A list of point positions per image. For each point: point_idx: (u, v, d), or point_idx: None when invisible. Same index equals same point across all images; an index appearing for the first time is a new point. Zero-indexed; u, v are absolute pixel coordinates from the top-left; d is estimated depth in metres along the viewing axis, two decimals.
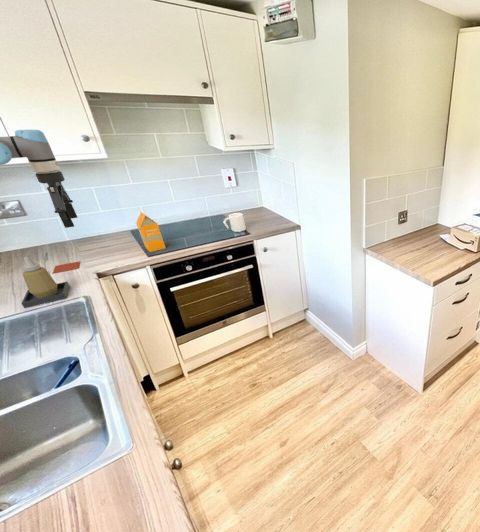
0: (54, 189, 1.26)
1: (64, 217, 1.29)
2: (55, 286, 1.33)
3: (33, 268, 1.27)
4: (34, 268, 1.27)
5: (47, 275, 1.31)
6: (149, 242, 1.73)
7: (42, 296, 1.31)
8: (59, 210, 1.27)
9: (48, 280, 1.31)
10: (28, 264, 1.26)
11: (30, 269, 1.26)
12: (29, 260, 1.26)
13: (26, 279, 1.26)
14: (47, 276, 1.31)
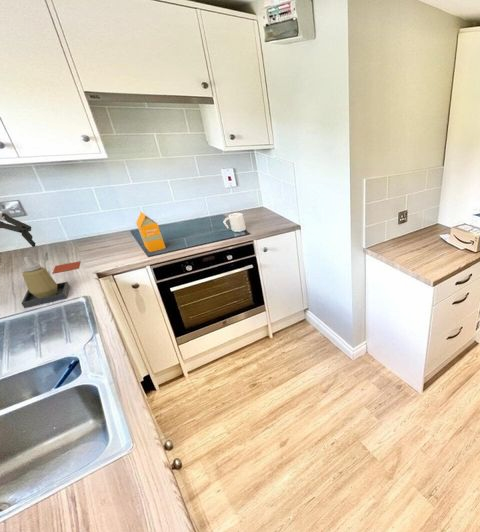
0: None
1: None
2: (55, 286, 1.33)
3: (33, 268, 1.27)
4: (34, 268, 1.27)
5: (47, 275, 1.31)
6: (149, 242, 1.73)
7: (42, 296, 1.31)
8: None
9: (48, 280, 1.31)
10: (28, 264, 1.26)
11: (30, 269, 1.26)
12: (29, 260, 1.26)
13: (26, 279, 1.26)
14: (47, 276, 1.31)
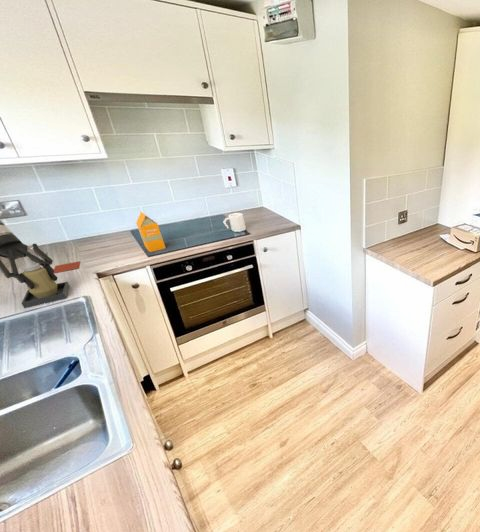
0: None
1: None
2: (55, 286, 1.33)
3: (33, 268, 1.27)
4: (34, 268, 1.27)
5: (47, 275, 1.31)
6: (149, 242, 1.73)
7: (42, 296, 1.31)
8: (51, 261, 1.34)
9: (48, 280, 1.31)
10: (28, 264, 1.26)
11: (30, 269, 1.26)
12: (29, 260, 1.26)
13: None
14: (47, 276, 1.31)
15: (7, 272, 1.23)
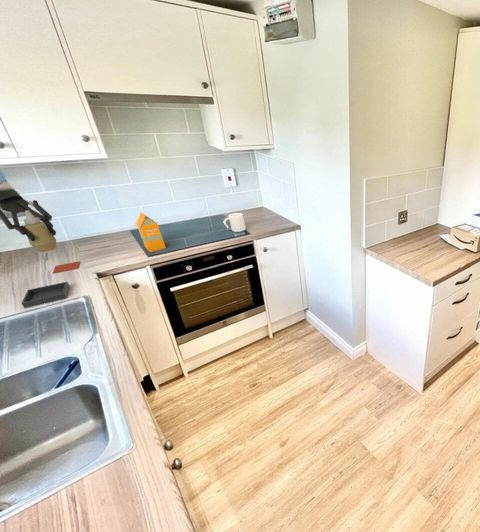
0: None
1: None
2: (54, 240, 1.42)
3: (33, 221, 1.36)
4: (34, 221, 1.36)
5: (46, 229, 1.40)
6: (149, 242, 1.73)
7: (41, 249, 1.40)
8: None
9: (47, 234, 1.40)
10: (29, 217, 1.35)
11: (31, 222, 1.35)
12: (30, 214, 1.35)
13: None
14: (47, 230, 1.40)
15: (9, 224, 1.32)
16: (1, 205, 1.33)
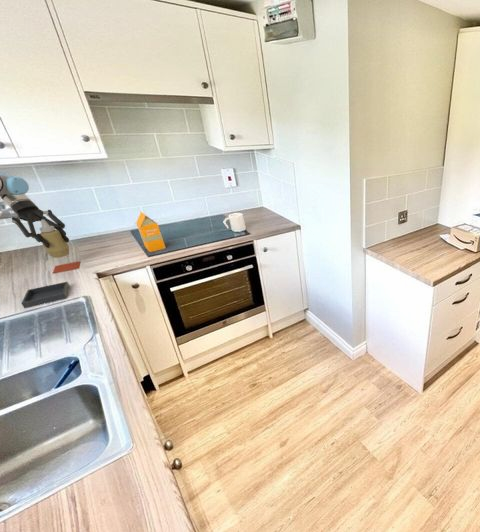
0: None
1: None
2: (67, 247, 1.53)
3: (49, 229, 1.46)
4: (49, 230, 1.47)
5: (60, 237, 1.50)
6: (149, 242, 1.73)
7: (56, 255, 1.50)
8: None
9: (61, 241, 1.50)
10: (44, 226, 1.46)
11: (46, 230, 1.46)
12: (45, 222, 1.46)
13: None
14: (60, 237, 1.50)
15: (27, 232, 1.43)
16: (19, 215, 1.44)
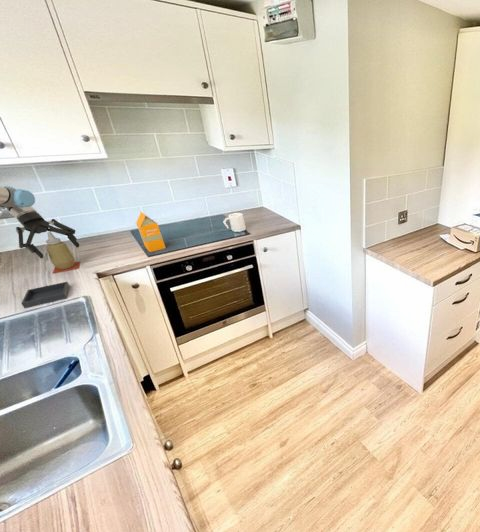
0: None
1: None
2: (73, 258, 1.56)
3: (55, 242, 1.49)
4: (56, 242, 1.50)
5: (66, 248, 1.53)
6: (149, 242, 1.73)
7: (62, 267, 1.53)
8: None
9: (67, 253, 1.53)
10: (51, 238, 1.49)
11: (52, 243, 1.49)
12: (52, 235, 1.49)
13: (49, 251, 1.49)
14: (66, 249, 1.53)
15: (21, 243, 1.43)
16: (25, 226, 1.47)
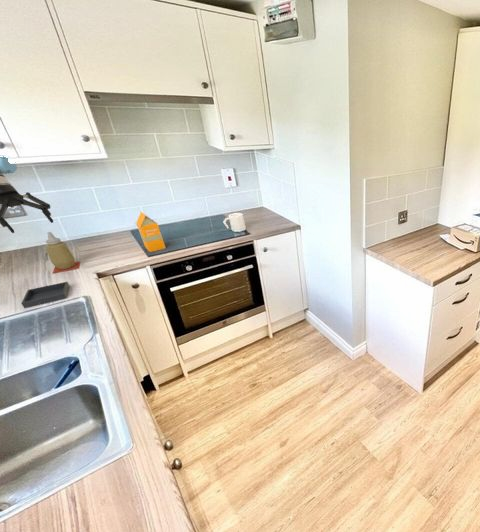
0: None
1: (49, 212, 1.56)
2: (73, 258, 1.56)
3: (55, 242, 1.49)
4: (56, 242, 1.50)
5: (66, 248, 1.53)
6: (149, 242, 1.73)
7: (62, 267, 1.53)
8: None
9: (67, 253, 1.53)
10: (51, 238, 1.49)
11: (52, 243, 1.49)
12: (51, 235, 1.49)
13: (49, 251, 1.49)
14: (66, 249, 1.53)
15: None
16: None
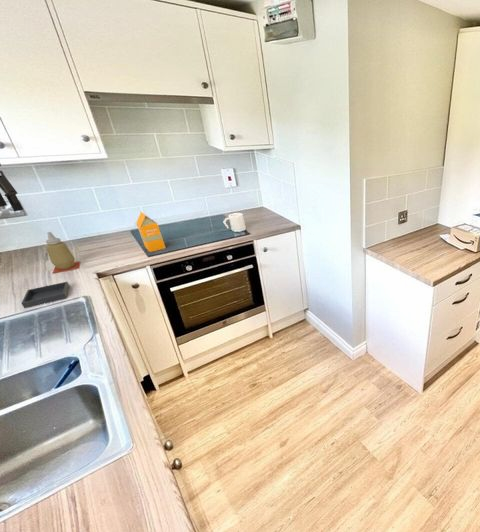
0: (1, 173, 1.31)
1: (15, 200, 1.35)
2: (73, 258, 1.56)
3: (55, 242, 1.49)
4: (56, 242, 1.50)
5: (66, 248, 1.53)
6: (149, 242, 1.73)
7: (62, 267, 1.53)
8: (12, 192, 1.33)
9: (67, 253, 1.53)
10: (51, 238, 1.49)
11: (52, 243, 1.49)
12: (51, 235, 1.49)
13: (49, 251, 1.49)
14: (66, 249, 1.53)
15: None
16: None
